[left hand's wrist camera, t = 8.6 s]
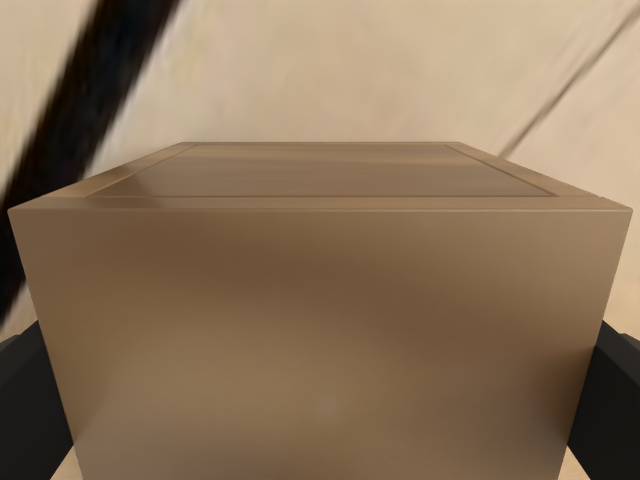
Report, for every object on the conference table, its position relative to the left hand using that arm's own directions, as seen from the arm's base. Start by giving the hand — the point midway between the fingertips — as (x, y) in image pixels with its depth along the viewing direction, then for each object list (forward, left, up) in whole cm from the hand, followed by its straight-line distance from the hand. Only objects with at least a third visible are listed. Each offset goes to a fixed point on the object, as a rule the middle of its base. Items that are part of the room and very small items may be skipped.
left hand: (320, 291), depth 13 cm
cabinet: (+6, -2, -5) cm, 8 cm away
